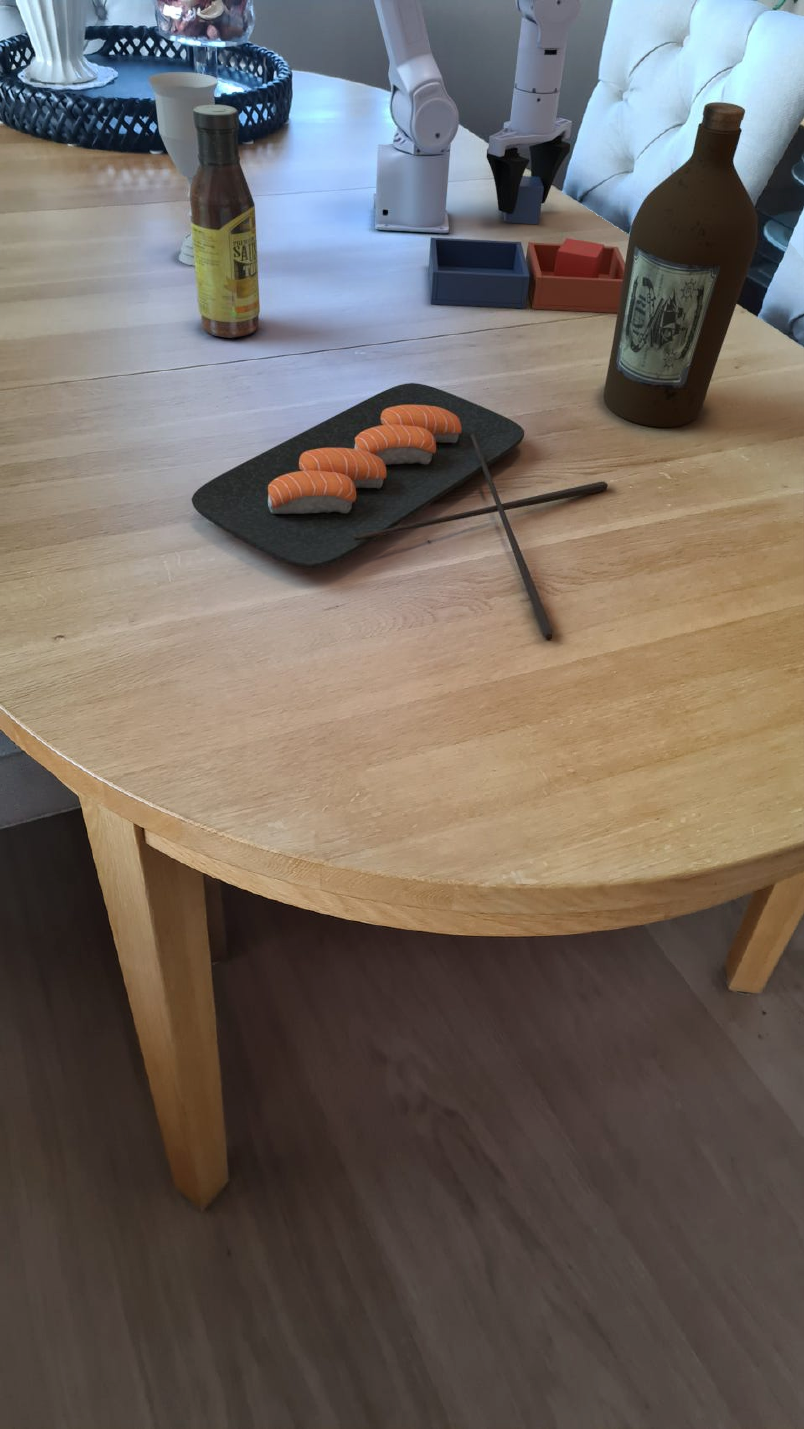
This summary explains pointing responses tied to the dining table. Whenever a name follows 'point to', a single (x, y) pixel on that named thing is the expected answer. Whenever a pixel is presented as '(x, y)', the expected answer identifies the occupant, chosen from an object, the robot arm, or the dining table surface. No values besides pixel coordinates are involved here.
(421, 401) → the sushi plate
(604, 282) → the red bin
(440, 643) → the dining table surface
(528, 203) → the blue block
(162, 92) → the chalice
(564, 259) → the red block
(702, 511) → the dining table surface
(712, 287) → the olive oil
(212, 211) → the sauce bottle
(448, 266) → the blue bin
